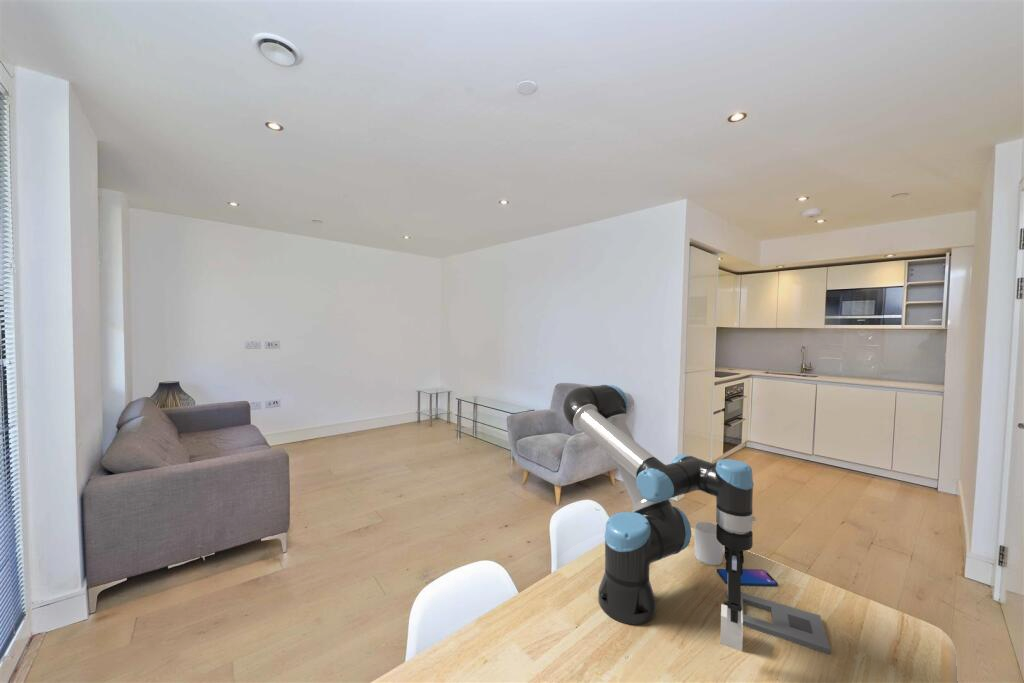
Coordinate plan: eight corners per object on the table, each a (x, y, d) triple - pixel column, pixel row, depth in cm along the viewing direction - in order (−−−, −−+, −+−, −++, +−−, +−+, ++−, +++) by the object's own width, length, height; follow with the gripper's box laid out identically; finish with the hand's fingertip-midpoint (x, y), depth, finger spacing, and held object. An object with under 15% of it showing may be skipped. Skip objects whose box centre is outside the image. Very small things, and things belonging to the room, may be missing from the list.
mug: (724, 550, 130) (725, 521, 129) (739, 566, 121) (740, 534, 121) (689, 551, 130) (689, 521, 129) (702, 566, 121) (702, 534, 121)
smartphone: (715, 568, 120) (764, 569, 119) (715, 571, 120) (764, 571, 119) (727, 584, 112) (779, 584, 112) (727, 587, 113) (779, 587, 112)
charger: (720, 643, 92) (721, 615, 92) (720, 630, 96) (721, 603, 95) (742, 651, 90) (742, 622, 89) (741, 638, 94) (742, 610, 93)
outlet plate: (731, 621, 99) (731, 616, 99) (731, 593, 109) (731, 588, 109) (830, 654, 89) (830, 649, 89) (819, 619, 99) (820, 615, 99)
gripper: (755, 558, 79) (755, 659, 79) (750, 509, 100) (749, 588, 101) (714, 548, 82) (714, 644, 83) (717, 503, 104) (717, 579, 105)
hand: (733, 614), depth 92 cm, fingers open, 13 cm apart
